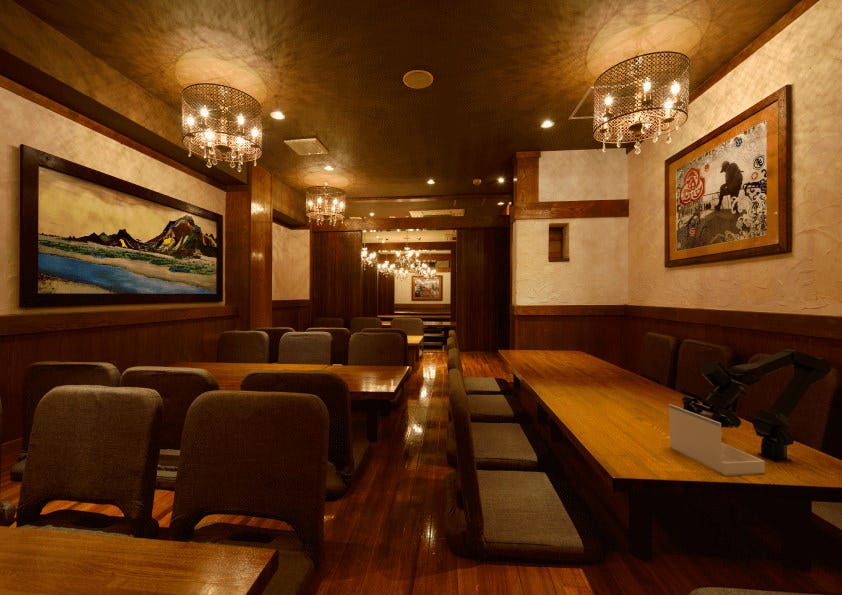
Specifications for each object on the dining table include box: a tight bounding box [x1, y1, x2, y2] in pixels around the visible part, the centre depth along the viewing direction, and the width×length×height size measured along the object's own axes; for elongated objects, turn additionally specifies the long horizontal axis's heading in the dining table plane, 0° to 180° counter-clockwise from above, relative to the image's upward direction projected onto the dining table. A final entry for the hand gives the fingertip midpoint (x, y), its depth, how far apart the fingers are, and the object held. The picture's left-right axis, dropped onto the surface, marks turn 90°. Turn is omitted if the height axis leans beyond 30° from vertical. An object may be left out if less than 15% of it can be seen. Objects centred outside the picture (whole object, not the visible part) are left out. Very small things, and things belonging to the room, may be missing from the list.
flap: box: [668, 403, 723, 462], centre depth 129 cm, size 12×21×1 cm
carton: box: [669, 436, 766, 477], centre depth 130 cm, size 14×22×4 cm, turn 7°
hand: (693, 428), depth 130 cm, fingers open, 9 cm apart
